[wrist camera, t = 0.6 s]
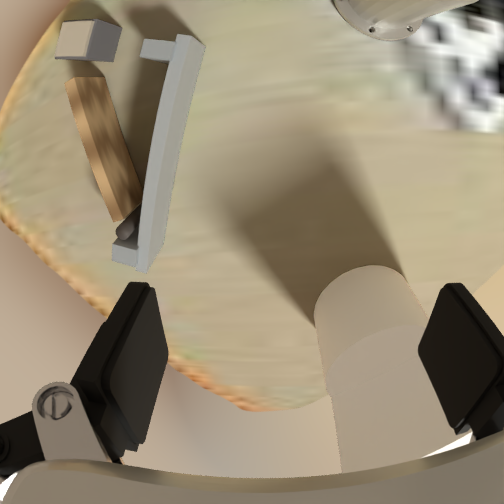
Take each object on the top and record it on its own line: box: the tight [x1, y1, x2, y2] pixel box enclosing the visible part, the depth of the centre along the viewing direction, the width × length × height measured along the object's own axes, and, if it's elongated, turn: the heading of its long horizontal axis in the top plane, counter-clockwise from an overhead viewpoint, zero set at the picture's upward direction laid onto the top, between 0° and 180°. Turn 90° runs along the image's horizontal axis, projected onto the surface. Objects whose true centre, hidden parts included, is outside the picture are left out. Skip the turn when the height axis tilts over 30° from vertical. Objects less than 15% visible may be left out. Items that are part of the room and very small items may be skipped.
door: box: [64, 77, 143, 240], centre depth 34 cm, size 20×2×8 cm, turn 15°
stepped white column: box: [313, 265, 473, 473], centre depth 37 cm, size 17×17×28 cm
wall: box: [112, 34, 206, 274], centre depth 34 cm, size 28×4×9 cm, turn 165°
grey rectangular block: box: [54, 19, 122, 62], centre depth 27 cm, size 5×5×8 cm
